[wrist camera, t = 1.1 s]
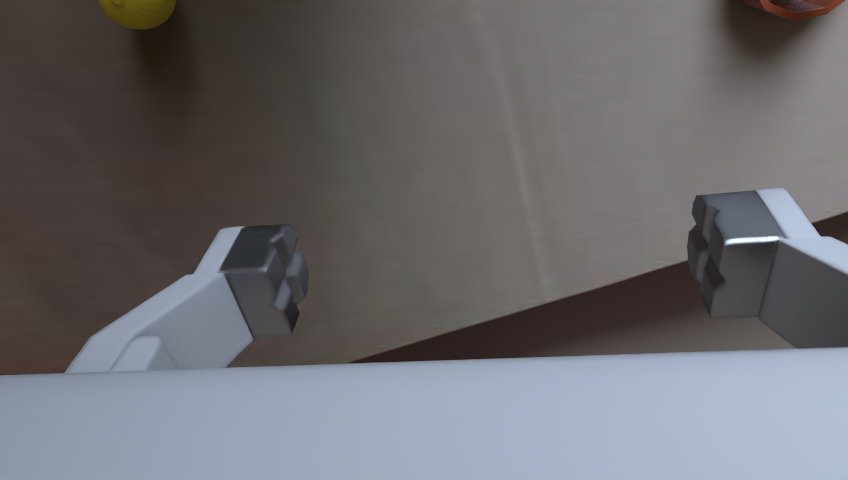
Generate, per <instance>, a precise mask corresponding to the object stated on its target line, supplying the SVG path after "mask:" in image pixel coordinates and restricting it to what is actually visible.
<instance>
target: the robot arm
mask: <svg viewBox="0 0 848 480" xmlns="http://www.w3.org/2000/svg"><path fill="white" fill-rule="evenodd" d="M692 215H693V217H694V220H695V222H696V225H695V226H694V227H693V228H692V229H691V230H690V231H689V235H688V244H687V250H688V262H689V266H690V270H691V272H692V275H693V278H694V279H696V280H697V281H699V282H701V283H702V286H701V292H700V295H701V297H702V299H703V301H704V304H705V306H706V309H707V311H708V314H709V316H710V318H745V317H746V318H748V317H759V320H760V321H761V322H763V323H764V324H765V325H767V326H768V327H769V328H771V329H772V330H773V331H774V332H776V333H777V334H778V335H780V336H781V337H782V338H784V339H785V340H786V341H787V342H789V343H790V344H791V345H792V346H794V347H795V348H796V349H775V350H774V349H773V350H743V351H713V352H685V353H653V354H625V355H595V356H564V357H536V358H507V359H475V360H447V361H446V360H445V361H415V362H385V363H355V364H324V365H294V366H264V367H234V368H226V367H227V366H228V365H229V364H230V363H231V362H232V361H233V360H234V359H235V358H236V357H237V356H238V355H239V354H240V353H241V352H242V351H243V350H244V349H245V348H246V347H247V346H248V345H249V344H250V343H251V342H252V341H253V338H263V337H278V336H291V335H292V333H293V330H294V327H295V324H296V321H297V319H298V316H299V310H298V307H297V304H298V303H299V302H301V301H302V300H303V299H304V298H305V296H306V293H307V290H308V278H309V275H308V269H307V264H306V261H305V258H304V256H303V255H302V254H301V253H299V252H298V251H297V250H296V249H295V247H296V245H297V242H298V237H297V235H296V232H295V229H294V227H292V226H291V225H290V224H279V225H259V226H246V227H244V226H240V227H227V228H223V229H221V230H219V232H218V234H217V235H216V237H215V239H214V240H213V242H212V244H211V245H210V247H209V249H208V250H207V252H206V253H205V255H204V257H203V258H202V260H201V262H200V263H199V265H198V267H197V268H196V270H195V272H194V273H193V275H185V276H184V277H182V278H181V279H179V280H178V281H176V282H175V283H173V284H171V285H170V286H168V287H167V288H165V289H164V290H162V291H161V292H159V293H157V294H156V295H154V296H153V297H151V298H150V299H148V300H147V301H145V302H143V303H142V304H140V305H139V306H137V307H136V308H134V309H133V310H131V311H129V312H128V313H126V314H125V315H123V316H122V317H120V318H119V319H117V320H116V321H114V322H112V323H111V324H109V325H108V326H106V327H105V328H103V329H102V330H100V331H98V332H97V333H95V334H94V335H92V336H91V337H90V338H89V339H88V340H87V342H86V343H85V345H84V346H83V347H82V349H81V350H80V352H79V353H78V354H77V356H76V357H75V359H74V360H73V361H72V363H71V364H70V366H69V367H68V368H67V370H66V371H65V373H55V374H25V375H0V480H848V245H847V244H845V243H843V242H841V241H838V240H836V239H834V238H832V237H821V236H820V235H819V234H818V233H817V231H816V230H815V228H814V227H813V226H812V224H811V223H810V222H809V220H808V219H807V218H806V216H805V215H804V214H803V212H802V211H801V210H800V208H799V207H798V205H797V204H796V203H795V201H794V200H793V199H792V197H791V196H790V195H789V193H788V192H787V191H786V189H783V188H781V187H777V188H768V189H758V190H752V191H742V192H730V193H719V194H707V195H696V197H695V200H694V202H693V208H692Z"/></svg>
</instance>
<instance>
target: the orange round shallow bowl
mask: <svg viewBox="0 0 848 480" xmlns="http://www.w3.org/2000/svg"><path fill="white" fill-rule="evenodd" d="M844 1H845V0H804V1H802V2H797V3H792V4H787V5H782V6H776V5H774V4H771V3H770V2H769V0H744V2H745V3H746V4H747V5H749V6H752V7H754V8H757V9H760V10H762V11H765V12H767V13H770V14H773V15H776V16H779V17H782V18H786V19H789V20H793V21H794V20H799V19H804V18H809V17H814V16H819V15H824V14H827V13H828V12H830V11H831V10H832V9H834V8H835V7H837V6H838V5H839V4H841V3H842V2H844Z"/></svg>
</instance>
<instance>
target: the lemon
mask: <svg viewBox="0 0 848 480" xmlns="http://www.w3.org/2000/svg"><path fill="white" fill-rule="evenodd" d="M98 1H99V4H100V6H101V7H102V9H103V11H104V12H105V13H106V14H107V15H108V16H109V17H110V18H111V19H112V20H113V21H115V22H116V23H118V24H120V25H122V26H124V27H128V28H132V29H150V28H153V27H157V26H159V25H161V24H162V23H163V22H165V21H166V20H167V19H168V18H169V17H170V15H171V14H172V13H173V10H174V8H175V5H176V0H98Z"/></svg>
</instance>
